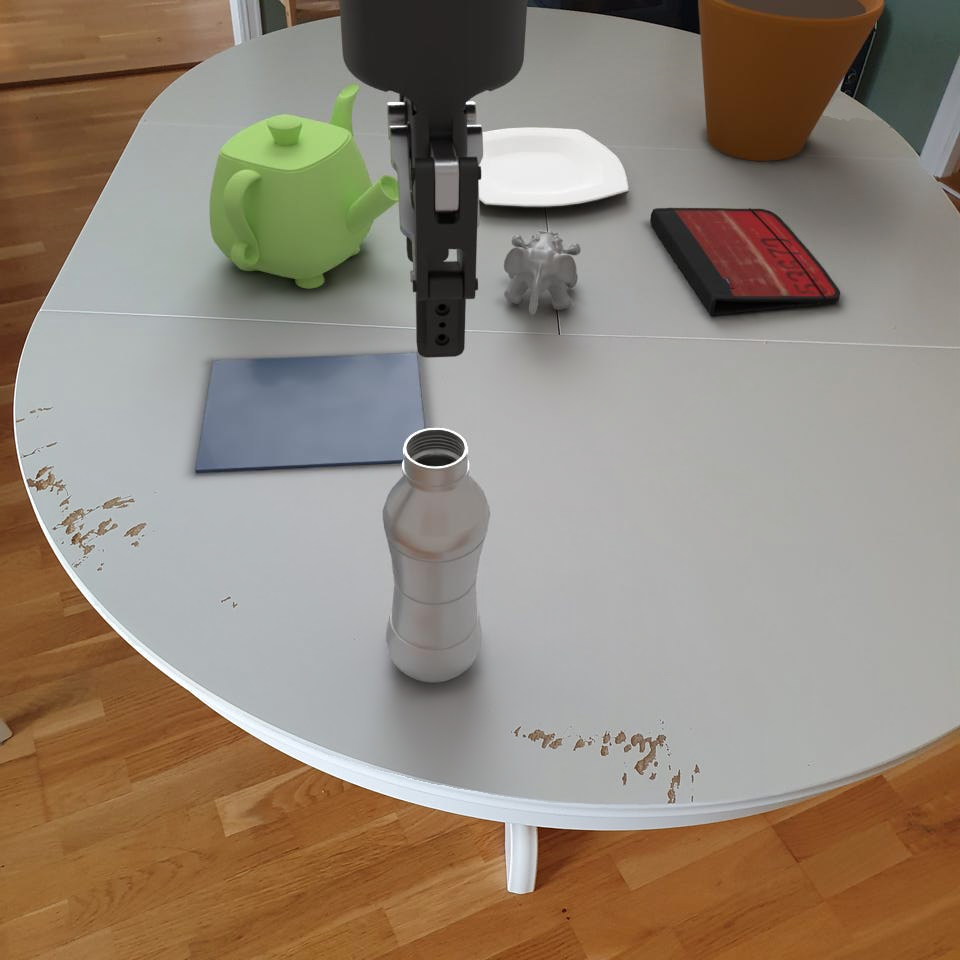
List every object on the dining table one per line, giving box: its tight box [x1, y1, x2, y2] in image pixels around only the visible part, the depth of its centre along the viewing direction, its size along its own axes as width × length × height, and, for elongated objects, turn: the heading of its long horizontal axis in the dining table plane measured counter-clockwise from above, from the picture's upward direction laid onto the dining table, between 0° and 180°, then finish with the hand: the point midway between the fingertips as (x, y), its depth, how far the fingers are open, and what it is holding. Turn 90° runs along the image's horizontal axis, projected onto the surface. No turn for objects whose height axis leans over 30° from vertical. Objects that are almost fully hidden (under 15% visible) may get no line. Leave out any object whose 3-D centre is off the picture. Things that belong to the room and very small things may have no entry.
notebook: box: [649, 207, 841, 317], centre depth 109 cm, size 16×2×21 cm
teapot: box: [209, 83, 399, 289], centre depth 102 cm, size 25×22×16 cm
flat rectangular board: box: [194, 352, 426, 473], centre depth 87 cm, size 20×16×1 cm
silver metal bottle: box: [382, 427, 491, 684], centre depth 61 cm, size 6×7×20 cm
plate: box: [479, 126, 630, 209], centre depth 124 cm, size 23×23×2 cm
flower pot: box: [697, 0, 885, 162], centre depth 129 cm, size 24×24×20 cm
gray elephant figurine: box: [503, 229, 582, 315], centre depth 99 cm, size 9×12×8 cm
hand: (433, 303), depth 47 cm, fingers open, 8 cm apart
